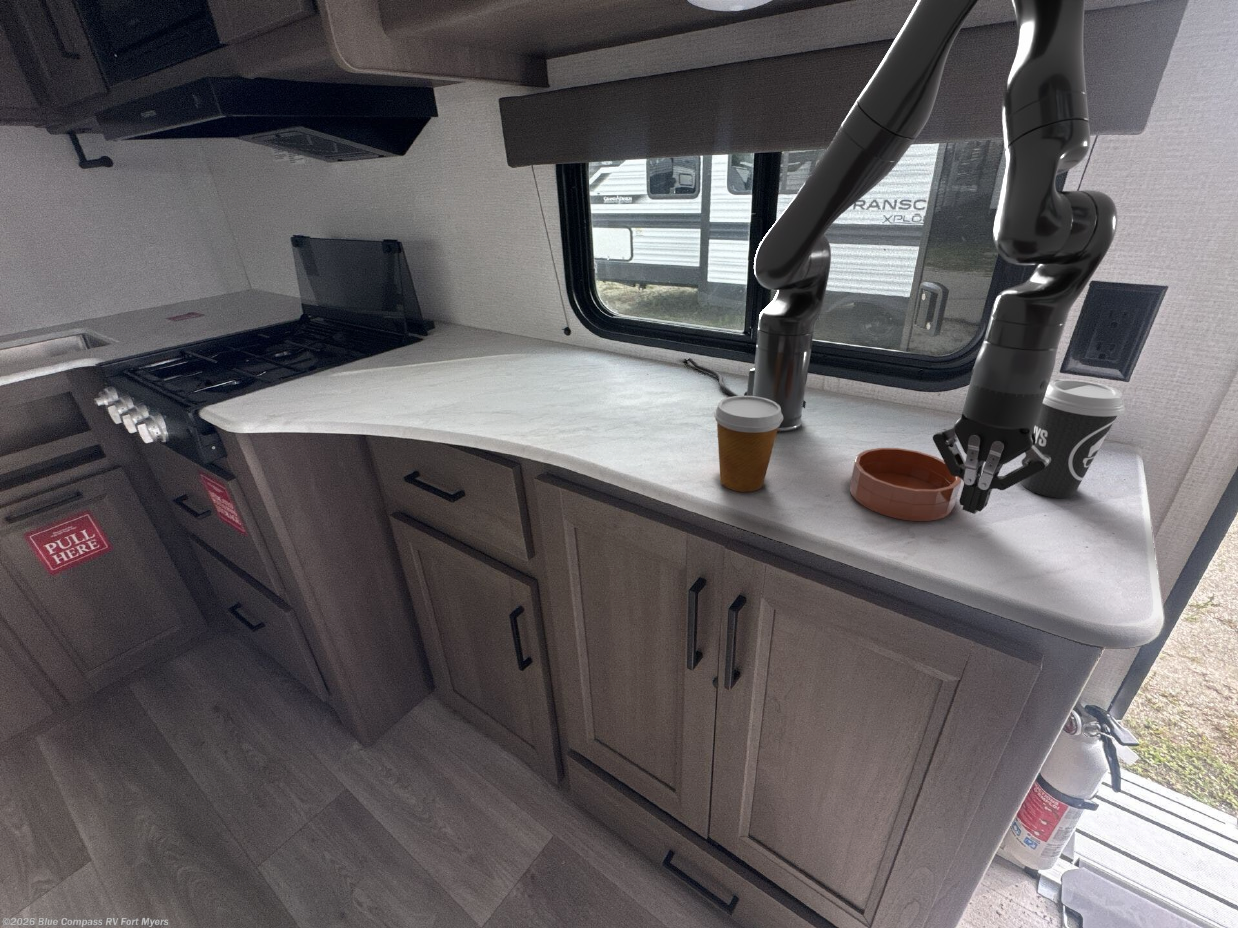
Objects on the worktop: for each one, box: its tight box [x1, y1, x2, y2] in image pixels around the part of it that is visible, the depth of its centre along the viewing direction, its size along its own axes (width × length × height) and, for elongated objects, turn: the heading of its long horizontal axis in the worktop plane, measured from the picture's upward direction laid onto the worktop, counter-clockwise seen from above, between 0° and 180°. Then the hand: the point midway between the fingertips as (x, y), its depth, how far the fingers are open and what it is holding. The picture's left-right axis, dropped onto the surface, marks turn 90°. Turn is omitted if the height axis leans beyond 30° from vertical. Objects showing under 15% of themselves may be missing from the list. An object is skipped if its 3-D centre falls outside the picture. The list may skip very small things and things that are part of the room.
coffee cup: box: [1020, 378, 1126, 499], centre depth 78 cm, size 10×10×15 cm
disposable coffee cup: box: [713, 395, 783, 493], centre depth 81 cm, size 10×10×12 cm
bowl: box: [849, 447, 962, 522], centre depth 79 cm, size 13×13×4 cm
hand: (970, 509), depth 73 cm, fingers closed
